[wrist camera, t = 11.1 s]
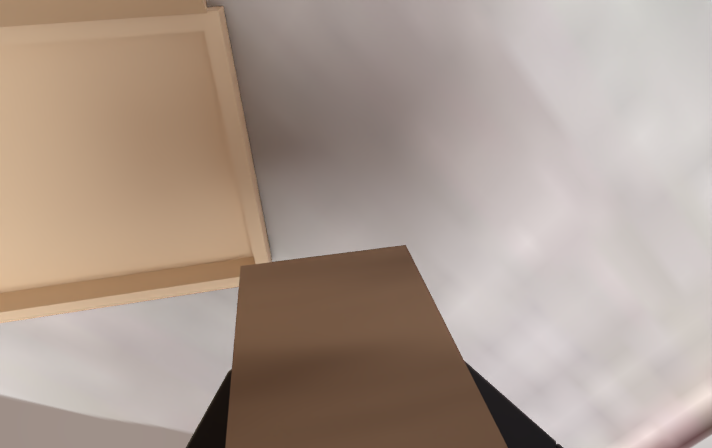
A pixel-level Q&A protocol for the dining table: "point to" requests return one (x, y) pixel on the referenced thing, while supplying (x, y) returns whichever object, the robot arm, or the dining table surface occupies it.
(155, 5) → the mailer lid
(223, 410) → the robot arm
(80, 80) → the box
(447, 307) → the dining table surface
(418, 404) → the walnut block
